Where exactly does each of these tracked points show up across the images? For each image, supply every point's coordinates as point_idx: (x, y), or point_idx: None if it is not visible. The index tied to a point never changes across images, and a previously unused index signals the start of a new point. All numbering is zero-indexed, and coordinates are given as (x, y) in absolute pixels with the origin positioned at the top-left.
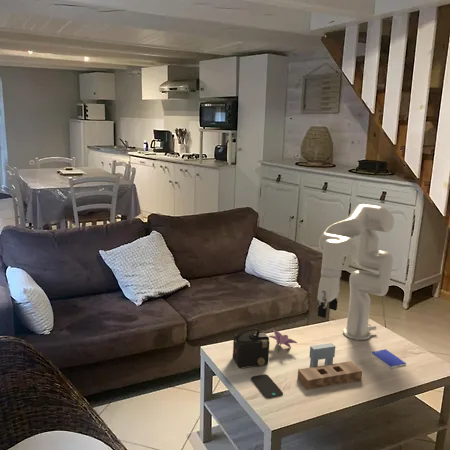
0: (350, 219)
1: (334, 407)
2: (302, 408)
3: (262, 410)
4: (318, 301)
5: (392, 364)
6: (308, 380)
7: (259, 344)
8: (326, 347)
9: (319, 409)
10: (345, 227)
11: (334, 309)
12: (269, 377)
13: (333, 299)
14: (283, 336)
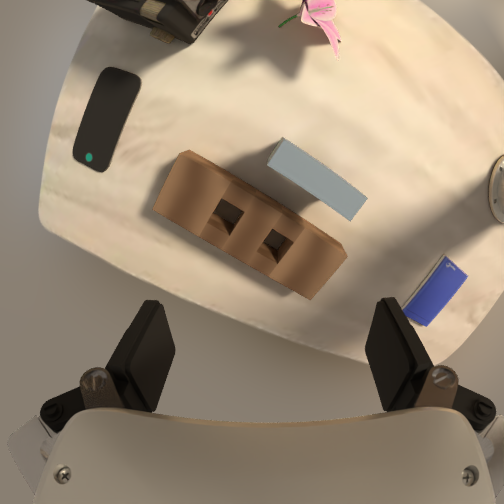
0: None
1: (156, 280)
2: (103, 231)
3: (48, 178)
4: (25, 430)
5: (410, 312)
6: (154, 210)
7: (133, 12)
8: (318, 198)
9: (127, 259)
10: None
11: (368, 344)
12: (133, 96)
13: (404, 400)
14: (305, 10)
